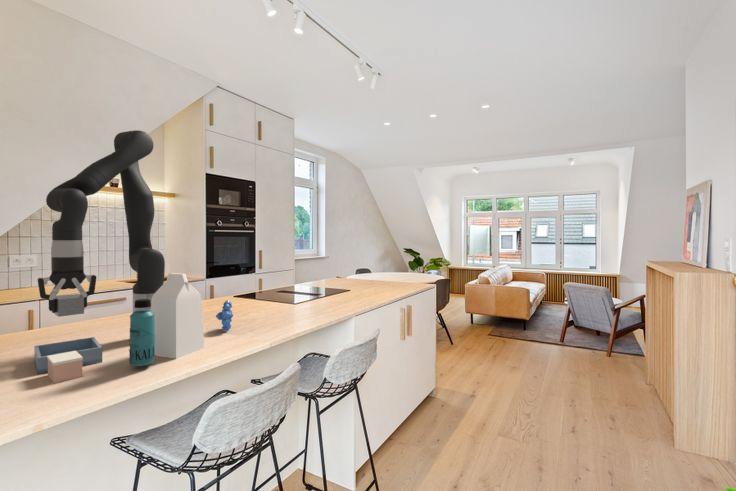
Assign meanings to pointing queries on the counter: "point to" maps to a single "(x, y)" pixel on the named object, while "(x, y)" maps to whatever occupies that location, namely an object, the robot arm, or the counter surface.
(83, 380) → the counter surface
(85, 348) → the box
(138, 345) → the beverage bottle
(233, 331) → the counter surface
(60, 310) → the iron block
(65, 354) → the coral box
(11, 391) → the counter surface
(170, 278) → the milk
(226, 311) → the grapes
